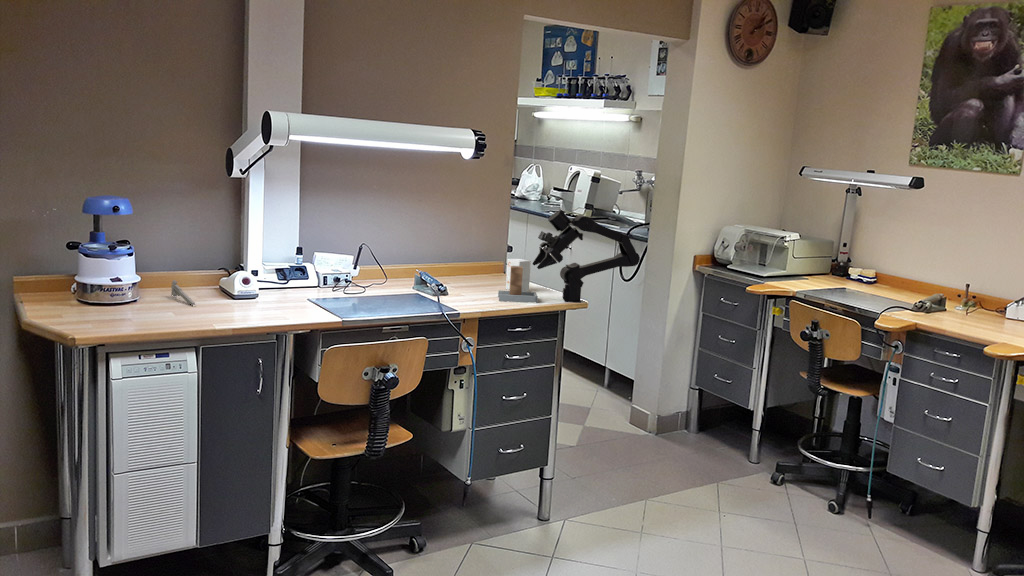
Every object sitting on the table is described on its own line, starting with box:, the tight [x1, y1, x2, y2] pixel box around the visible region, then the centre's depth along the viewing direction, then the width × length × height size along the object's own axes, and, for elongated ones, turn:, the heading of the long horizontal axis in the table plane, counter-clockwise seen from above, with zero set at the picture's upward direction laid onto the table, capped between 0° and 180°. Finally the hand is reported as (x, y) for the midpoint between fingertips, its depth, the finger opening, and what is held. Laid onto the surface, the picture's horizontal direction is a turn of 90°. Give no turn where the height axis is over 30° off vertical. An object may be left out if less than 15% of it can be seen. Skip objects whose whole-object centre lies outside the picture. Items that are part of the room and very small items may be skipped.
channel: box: [497, 289, 539, 303], centre depth 328 cm, size 15×10×2 cm, turn 93°
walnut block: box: [508, 266, 523, 295], centre depth 327 cm, size 4×4×13 cm
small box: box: [505, 258, 531, 292], centre depth 347 cm, size 8×6×13 cm
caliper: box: [170, 279, 196, 306], centre depth 291 cm, size 20×1×6 cm, turn 42°
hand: (535, 266), depth 327 cm, fingers open, 9 cm apart
